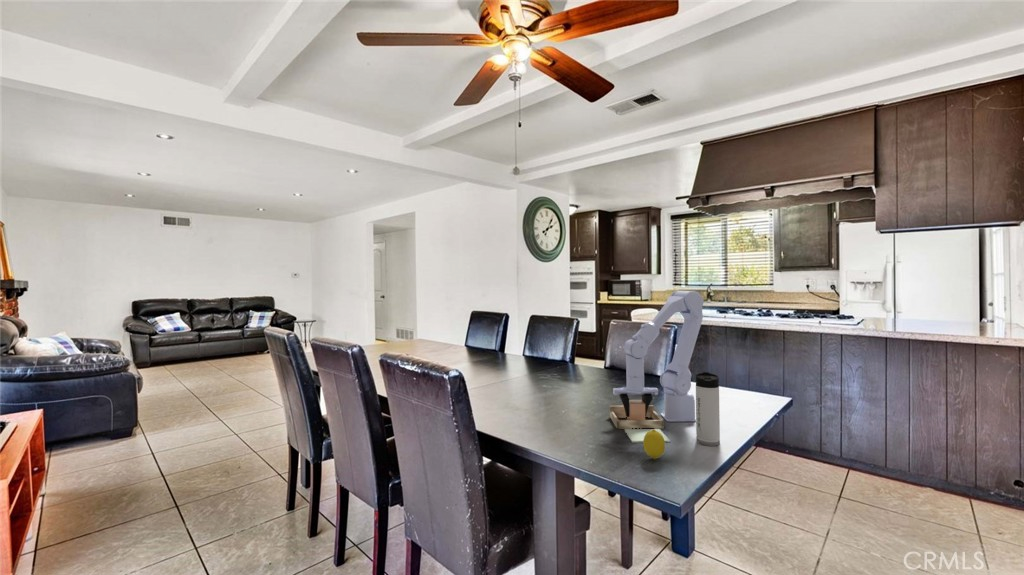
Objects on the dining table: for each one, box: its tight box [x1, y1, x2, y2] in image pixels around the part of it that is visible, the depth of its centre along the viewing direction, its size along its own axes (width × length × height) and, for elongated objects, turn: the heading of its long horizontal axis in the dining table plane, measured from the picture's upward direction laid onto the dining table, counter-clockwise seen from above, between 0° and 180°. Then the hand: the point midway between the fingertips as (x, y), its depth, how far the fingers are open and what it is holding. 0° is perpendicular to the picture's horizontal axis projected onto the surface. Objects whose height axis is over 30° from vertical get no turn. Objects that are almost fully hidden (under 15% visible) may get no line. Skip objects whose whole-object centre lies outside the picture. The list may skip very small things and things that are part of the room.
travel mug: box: [695, 371, 721, 447], centre depth 128 cm, size 6×7×20 cm
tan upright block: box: [626, 399, 646, 420], centre depth 146 cm, size 5×5×7 cm
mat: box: [624, 428, 671, 444], centre depth 133 cm, size 11×10×1 cm
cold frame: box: [609, 404, 665, 430], centre depth 146 cm, size 15×12×4 cm
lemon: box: [642, 428, 666, 460], centre depth 116 cm, size 6×6×8 cm
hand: (635, 416), depth 146 cm, fingers closed on tan upright block, 5 cm apart
